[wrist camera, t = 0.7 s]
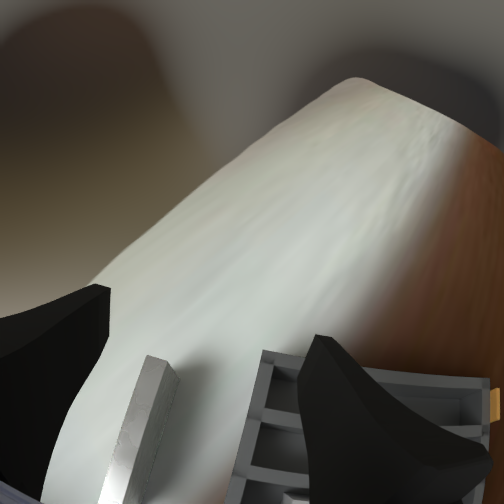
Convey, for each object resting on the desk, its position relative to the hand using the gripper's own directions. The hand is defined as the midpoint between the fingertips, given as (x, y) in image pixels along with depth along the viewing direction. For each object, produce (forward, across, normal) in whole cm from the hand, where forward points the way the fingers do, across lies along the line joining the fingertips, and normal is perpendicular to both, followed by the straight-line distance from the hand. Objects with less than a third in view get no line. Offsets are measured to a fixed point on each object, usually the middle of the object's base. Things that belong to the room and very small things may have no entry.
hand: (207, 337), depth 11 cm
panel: (+6, +3, +16) cm, 18 cm away
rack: (+5, -14, +13) cm, 20 cm away
